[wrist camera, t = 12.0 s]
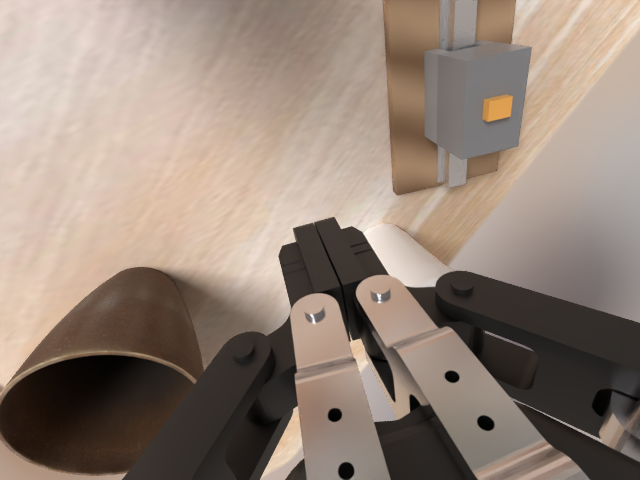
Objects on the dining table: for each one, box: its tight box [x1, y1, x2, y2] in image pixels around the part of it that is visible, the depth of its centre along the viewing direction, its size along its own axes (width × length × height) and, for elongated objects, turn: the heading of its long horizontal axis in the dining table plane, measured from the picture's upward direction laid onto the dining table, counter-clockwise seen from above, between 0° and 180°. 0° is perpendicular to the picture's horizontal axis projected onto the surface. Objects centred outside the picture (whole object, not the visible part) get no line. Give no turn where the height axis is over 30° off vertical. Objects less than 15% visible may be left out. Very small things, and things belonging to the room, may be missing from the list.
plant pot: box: [0, 267, 204, 476], centre depth 36 cm, size 15×15×16 cm
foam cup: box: [363, 223, 454, 287], centre depth 41 cm, size 10×9×13 cm
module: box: [424, 40, 532, 160], centre depth 34 cm, size 8×5×8 cm
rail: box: [436, 0, 477, 188], centre depth 35 cm, size 25×3×2 cm, turn 9°
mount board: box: [383, 0, 516, 195], centre depth 36 cm, size 26×12×1 cm, turn 9°
